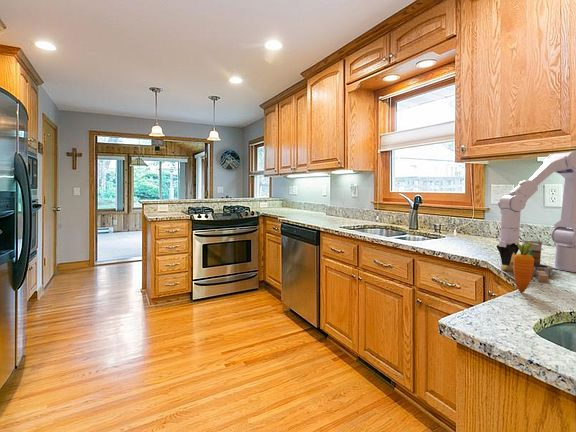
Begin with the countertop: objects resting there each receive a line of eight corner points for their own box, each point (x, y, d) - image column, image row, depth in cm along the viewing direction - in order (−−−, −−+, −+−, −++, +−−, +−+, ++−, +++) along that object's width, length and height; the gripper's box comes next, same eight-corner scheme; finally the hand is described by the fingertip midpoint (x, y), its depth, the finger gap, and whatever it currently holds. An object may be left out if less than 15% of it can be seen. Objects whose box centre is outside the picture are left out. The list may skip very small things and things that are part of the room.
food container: (520, 264, 132) (522, 239, 132) (540, 266, 129) (541, 241, 128) (518, 269, 123) (520, 243, 122) (538, 272, 119) (540, 245, 118)
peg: (504, 268, 124) (505, 250, 124) (516, 271, 121) (517, 252, 120) (498, 270, 122) (499, 251, 122) (510, 272, 119) (511, 253, 118)
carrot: (507, 289, 98) (510, 240, 96) (524, 290, 98) (527, 240, 96) (518, 295, 93) (521, 243, 92) (536, 295, 93) (540, 243, 91)
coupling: (516, 267, 126) (516, 259, 126) (566, 277, 113) (567, 268, 112) (495, 272, 119) (495, 264, 118) (546, 283, 105) (546, 274, 105)
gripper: (504, 225, 128) (502, 259, 129) (490, 228, 119) (488, 264, 120) (525, 227, 122) (523, 262, 124) (513, 230, 113) (511, 268, 114)
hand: (507, 264), depth 121 cm, fingers closed on peg, 4 cm apart
